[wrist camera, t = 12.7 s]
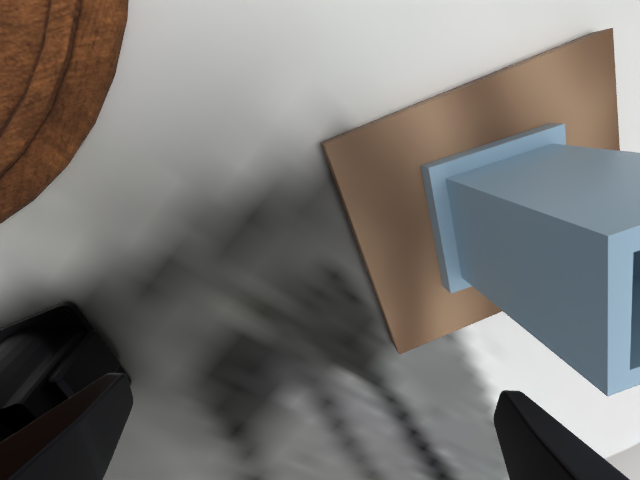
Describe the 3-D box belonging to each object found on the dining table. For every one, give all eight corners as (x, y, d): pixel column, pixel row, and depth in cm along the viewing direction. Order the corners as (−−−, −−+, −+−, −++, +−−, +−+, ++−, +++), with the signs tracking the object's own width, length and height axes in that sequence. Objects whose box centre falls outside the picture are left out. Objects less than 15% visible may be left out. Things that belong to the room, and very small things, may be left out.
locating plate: (392, 343, 25) (418, 387, 21) (320, 142, 20) (335, 150, 16) (609, 252, 25) (674, 278, 21) (592, 32, 20) (674, 13, 16)
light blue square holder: (442, 286, 22) (586, 421, 13) (420, 165, 20) (581, 218, 10) (557, 246, 23) (783, 348, 13) (551, 123, 20) (830, 134, 10)
